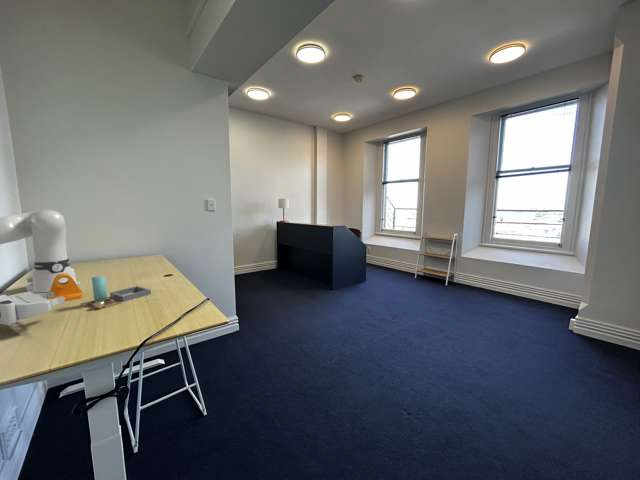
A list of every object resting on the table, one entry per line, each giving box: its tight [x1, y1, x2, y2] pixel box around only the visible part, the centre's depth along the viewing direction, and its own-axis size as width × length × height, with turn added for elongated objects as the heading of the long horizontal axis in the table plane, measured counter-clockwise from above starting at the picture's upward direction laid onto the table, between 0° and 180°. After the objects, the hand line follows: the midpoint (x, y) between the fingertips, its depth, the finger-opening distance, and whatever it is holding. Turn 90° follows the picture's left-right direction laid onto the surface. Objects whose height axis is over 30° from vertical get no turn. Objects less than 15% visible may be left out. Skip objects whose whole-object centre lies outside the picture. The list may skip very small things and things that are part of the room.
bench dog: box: [94, 301, 106, 311], centre depth 100 cm, size 3×3×2 cm
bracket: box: [46, 273, 84, 303], centre depth 109 cm, size 11×7×12 cm, turn 136°
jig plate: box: [80, 297, 122, 311], centre depth 105 cm, size 14×9×2 cm, turn 62°
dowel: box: [91, 275, 108, 302], centre depth 104 cm, size 4×4×11 cm
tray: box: [109, 285, 152, 303], centre depth 115 cm, size 11×11×3 cm
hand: (58, 296), depth 94 cm, fingers open, 8 cm apart
